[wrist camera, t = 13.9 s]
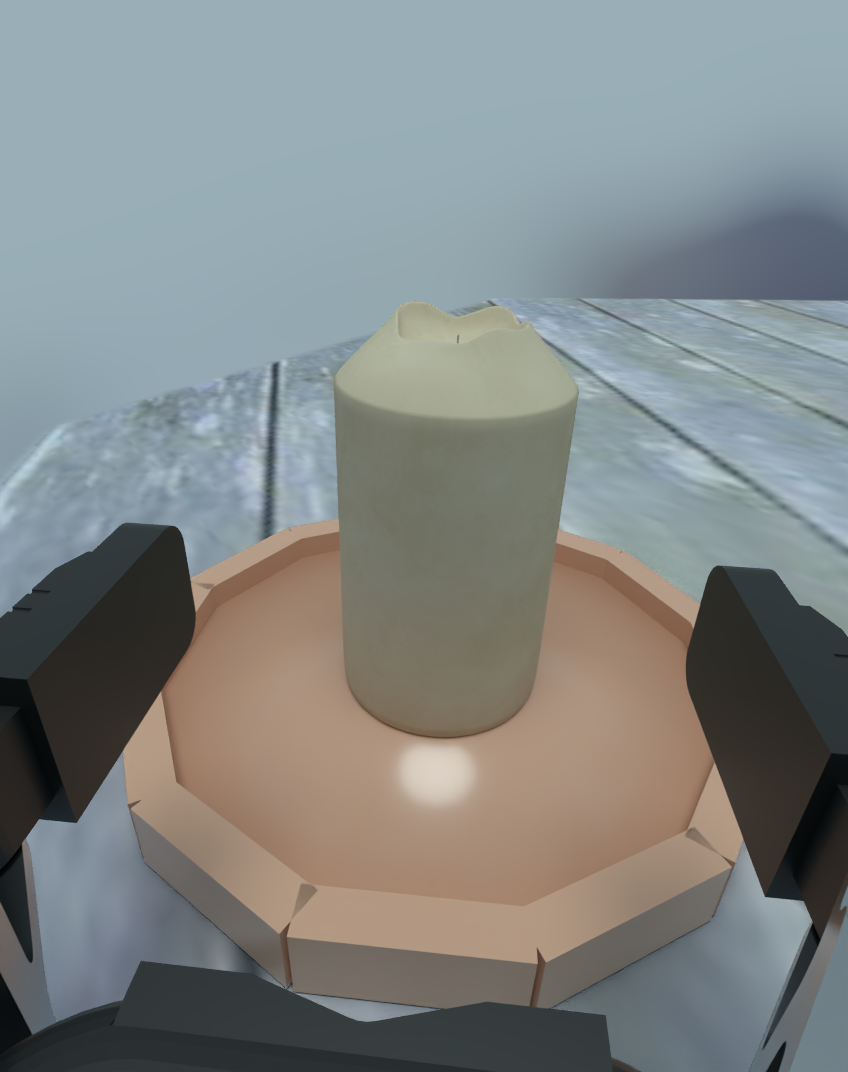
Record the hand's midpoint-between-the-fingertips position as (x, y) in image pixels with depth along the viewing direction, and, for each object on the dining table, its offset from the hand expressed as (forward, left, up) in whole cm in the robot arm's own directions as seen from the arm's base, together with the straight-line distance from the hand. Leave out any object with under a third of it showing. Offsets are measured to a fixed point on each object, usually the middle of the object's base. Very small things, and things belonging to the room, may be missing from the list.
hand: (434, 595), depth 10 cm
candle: (-3, -6, -7) cm, 10 cm away
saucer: (-3, -6, -8) cm, 10 cm away
